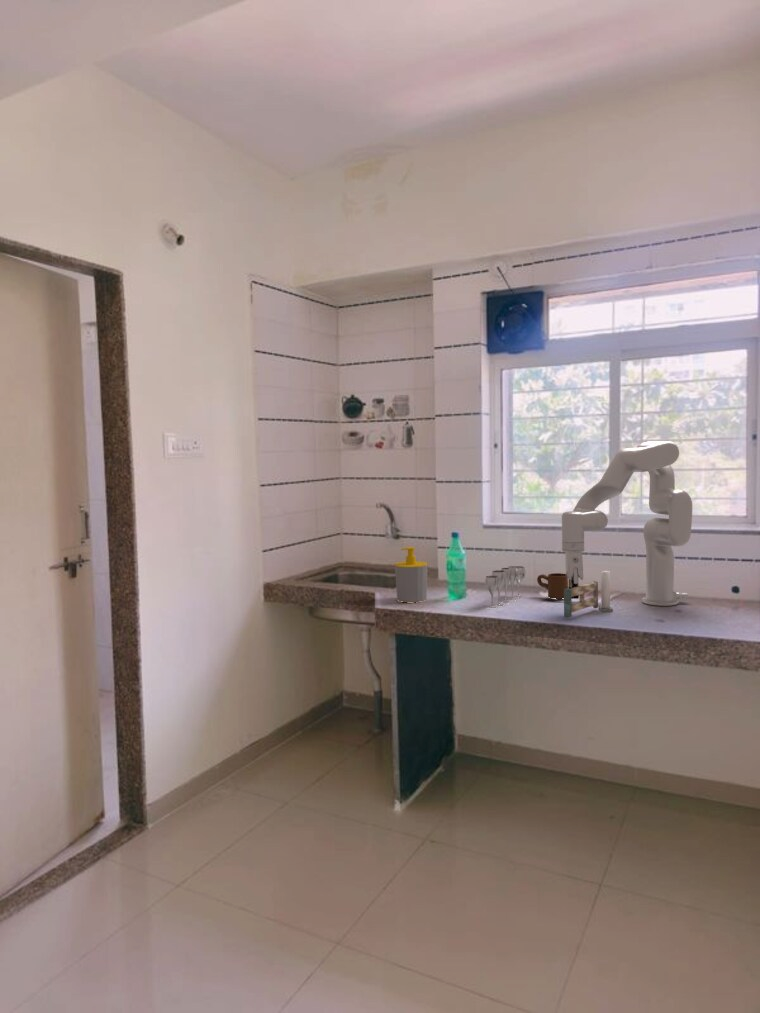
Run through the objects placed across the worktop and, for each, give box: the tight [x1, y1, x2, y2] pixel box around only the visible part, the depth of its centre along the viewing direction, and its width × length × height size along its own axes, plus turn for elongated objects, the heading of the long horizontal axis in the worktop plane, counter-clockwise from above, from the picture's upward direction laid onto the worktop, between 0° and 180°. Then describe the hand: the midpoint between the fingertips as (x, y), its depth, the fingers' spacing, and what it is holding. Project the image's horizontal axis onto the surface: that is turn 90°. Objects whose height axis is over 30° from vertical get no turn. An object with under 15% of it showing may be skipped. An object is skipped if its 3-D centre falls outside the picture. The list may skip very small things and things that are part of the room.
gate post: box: [598, 570, 614, 613], centre depth 245 cm, size 4×5×14 cm
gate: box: [563, 580, 599, 619], centre depth 239 cm, size 20×2×10 cm, turn 133°
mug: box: [536, 572, 569, 599], centre depth 268 cm, size 12×8×9 cm, turn 60°
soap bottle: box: [394, 546, 428, 602], centre depth 271 cm, size 13×13×21 cm
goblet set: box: [484, 565, 527, 608], centre depth 263 cm, size 28×6×13 cm, turn 144°
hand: (573, 598), depth 242 cm, fingers closed
